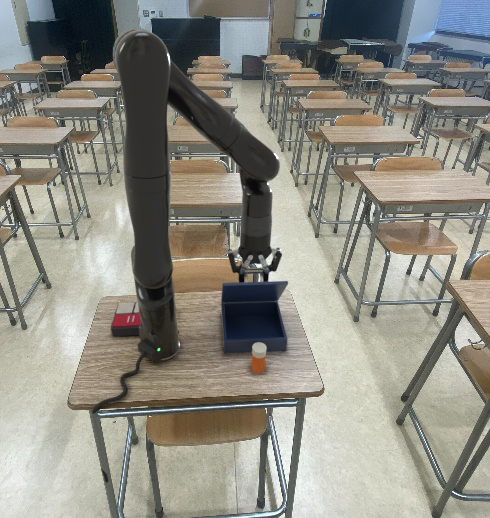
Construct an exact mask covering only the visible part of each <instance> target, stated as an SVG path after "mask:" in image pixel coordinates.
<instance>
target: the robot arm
mask: <svg viewBox="0 0 490 518" xmlns="http://www.w3.org/2000/svg"><path fill="white" fill-rule="evenodd" d="M112 61H113V64H114V68H115V70H116V72H117V73H118V74H117V75H118V76H119V77H118V78H119V82H120V87H121V92H122V99H123V105H124V112H125V133H124V134H125V135H124V142H123V143H124V144H123V156H122V157H123V158H122V162H123V163H122V164H123V165H122V166H123V178H124V191H125V196H126V203H127V208H128V212H129V213H128V214H129V218H130V222H131V226H132V231H133V232H132V233H133V239H134V240H133V241H134V242H133V243H134V244H133V246H132V248H131V251H130V262H131V271H132V275H133V281H134V287H135V295H136V301H137V302H138V307H139V314H140V320H141V325H140V326H139V327H138V329H139V335H138V336H139V340H140V341H139V342H138V343H137V350H138V352H139V353H141V354H140V355H139V357H138V359H137V360H136V363H135V369H134V370H132V371H127V372H124V373H123V374H122V375H121V376H120V379H119V381H120V385H121V386H122V389H123V390H122V392H121V393H120V394H118V395H117V396H114V397H110V398H107V399H103V400H102V401H99V402H98V403H97V404H96V405H95V406H94V407H93V409H92V411H91V413H92V414H96V413H97V412H98V410H99V409H100V408H101V407H102V406H104V405H106V404H110V403H114V402H117V401H120V400H121V399H123V398H124V397H125V396H126V395H127V393H128V385H127V384H126V382H125V378H126V377H131V376H134V375H137V373H139V371H140V369H141V368H140V367H141V366H140V365H141V363H142V361H143V360H144V358H145V357H146V358H147V359H149V360H150V361H152V362H155V363H156V364H159V363H161V362H165V361H168V360H171V359H172V358H174V357H175V356H176V354H177V353H178V351H179V350H180V345H181V344H180V338H179V335H180V330H179V328H178V317H177V305H176V303H177V302H176V295H175V286H174V280H173V272H174V262H173V258H172V252H171V243H170V218H171V198H172V197H171V193H172V174H171V172H172V171H171V170H172V169H171V168H172V167H171V154H170V152H171V151H170V140H169V138H170V137H169V131H168V106H169V107H170V108H171V109H173V110H174V112H176V113H177V114H178V115H179V116H180V117H181V118H182V119H183V120H185V122H187V124H189V126H191V128H193V129H194V130H195V131H196V132H197V133H198V134H199V135H200V136H201V137H202V138H204V140H206V141H207V142H208V143H209V144H211V145H212V146H213V147H214V148H215V149H216V150H218V151H219V152H220V153H222V154H223V155H225V156H226V157H228V158H229V159H230V160H232V162H234V163H235V164H236V165H237V166H238V173H239V179H240V185H241V192H242V195H241V197H242V198H241V214H240V222H239V246H238V248H237V249H232V248H228V250H227V257H228V260H229V261H228V262H229V265H230V268H231V272H232V273H233V274H238V282H245V274H244V272H245V270H246V269H247V268H249V266H250V265H261V267H263V282H269V276H270V273H271V272H274V273H276V272H277V270H278V268H279V265H280V262H281V260H282V257H283V252H282V249H281V248H280V247H276V248H273V247H272V246H271V241H272V230H273V229H272V228H273V227H272V226H273V214H272V213H273V197H274V196H273V190H272V188H271V187H270V184H269V182H271V181H273V180H275V178H276V177H277V176H278V174H279V173H280V170H281V169H280V167H281V163H280V159H279V156H278V155H277V153H275V152H274V151H273V150H272V149H271V148H269V147H268V146H267V145H266V144H264V143H263V142H262V141H261V140H260V139H258V138H257V137H256V136H254V134H252V132H250V131H249V130H248V128H247V127H246V126H245V125H244V124H243V123H242V121H240V120H239V119H238V118H236V116H234V115H233V113H231V112H230V111H229V110H228V109H226V108H225V106H223V105H222V104H220V103H219V102H218V101H217V100H215V99H214V98H213V97H212V96H211V95H209V94H208V93H207V92H205V91H204V90H203V89H202V88H200V87H199V86H198V85H196V83H194V82H193V81H192V80H191V79H190V78H189V77H188V76H186V74H185V73H184V72H182V70H181V69H179V67H178V66H177V65H176V64H175V63H174V62H173V60H172V59H171V57H170V51H169V49H168V48H167V46H166V44H165V43H164V40H162V39H161V38H160V37H159V36H158V35H156V34H155V33H153V32H151V31H150V30H147V29H144V28H139V27H138V28H137V27H134V28H128V29H127V30H124V31H123V32H122V33H120V34H119V35H118V36H117V38H116V39H115V41H114V43H113V46H112ZM270 255H272V259H271V262H270V264H268V262H267V259H268V258H269V257H270ZM238 256H239V257H240V258H241V259H240V260H241V261H240V263H239V265H237V262H236V259H237V258H238ZM100 468H101V467H100ZM101 473H102V476H103V479H104V482H105V484H106V483H109V481H110V480H109V475H108V473H107V472H106V471H104V469H103V468H101Z"/></svg>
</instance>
